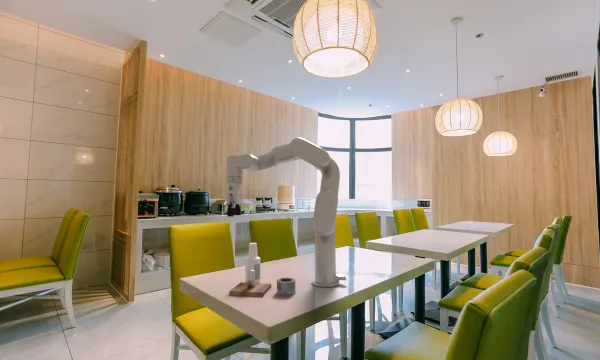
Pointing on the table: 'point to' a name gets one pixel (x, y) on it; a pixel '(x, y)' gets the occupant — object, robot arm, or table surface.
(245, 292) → the walnut base
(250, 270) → the steel shaft
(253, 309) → the table surface
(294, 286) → the ring
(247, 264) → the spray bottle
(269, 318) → the table surface
